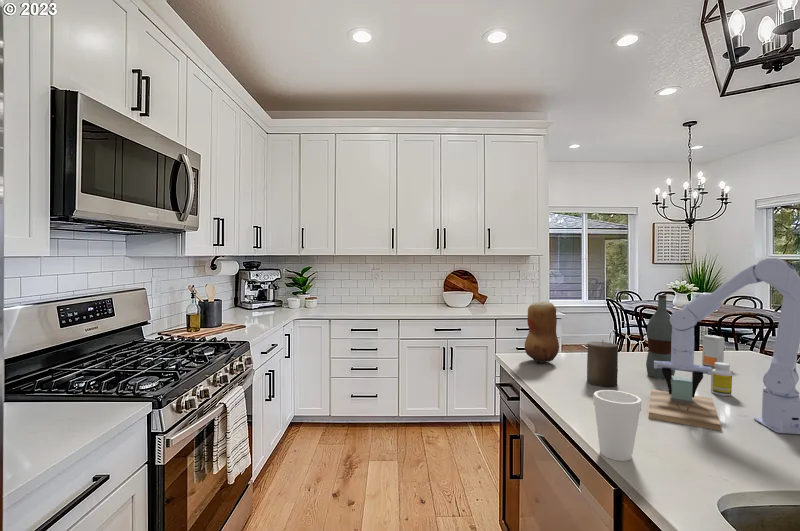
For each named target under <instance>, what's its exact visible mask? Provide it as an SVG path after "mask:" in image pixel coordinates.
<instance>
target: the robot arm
mask: <svg viewBox="0 0 800 531" xmlns="http://www.w3.org/2000/svg"><path fill="white" fill-rule="evenodd" d="M795 268H796V267H794V266H793V265H792V264H790V263H788V262H787V261H786V260H784V259H782V258H777V257H776V258H775V257H768V258H764V259H762V260H760V261H758V262H757V264H753V265H751V266H749V267H747V268H745V269H743V270H742V271H739V272H738V273H737V274H736V275H734V276H733V277H732V278H730V279H729V280H728V281H726V282H725V283H723V284H722V285H721V286H720V287H718V288H717V289H715V290H714V291H713V292H702V293H697V294H695V295H694V299H692V300H691V301H689V302H688V303H686V304H682V305H681V306H680V308H681V309H676V310H674V311H673V312H672V313H671V314H670V323H671V325H672V340H671V362H668V361H654V368H662V373H663V375H664V377H665V379H664V380H665V383H666V385H667V388H668V392H669V394H672V388H671V384H672V379H671V375H672V373H671V370H675V371H679V372H688V373H691V376H692V377H691V379H692V384H693V386H692V397H693V398H694V396H696V391H697V389H698V387H699V385H700V383H701V382H702V380H703V378H704V374H705V375H708V376H711V375H712V370H713V367H712V366H707V365H699V364H695V361H694V360H695V326H697V324H698V322H701V321H702V320H704V319H706V318H708V317H709V316H710V315H712V314H713V313H714V312H716V311H718V310H719V309H721V303H722V301H724V300H725V299H727V298H729V297H730V296H732V295H733V294H735V293H736V292H738V291H740V290H741V289H743V288H744V287H746V286H747V285H752V284H758V283H763V282H764V283H766V284H768V285H770V286H771V287H773V288H774V289H775V290H776V291H777V292H779V294H781V295H782V304H781V309H780V314H779V320H778V325H777V331H776V336H775V343H774V348H773V355H772V357H771V358H772V359H771V361H770V365H769V368H768V371H767V372H765V374H763V375H764V376H763V378H762V382H763V385H764V386H763V387H762V402H761V403H762V405H761V417H756V416H755V417H753V420H755V421H756V422H758V423H759V424H761V425H763V426H765V427H766V428H768V429H770V430H772V431H773V432H775V433H778V434H788V435H789V434H791V435H792V434H793V435H800V391H798V390H797V389H796V385H797V384H798V383H799V378H800V377H799V374H798V372H797V362H798V361H797V360H798V354H799V353H798V352H799V346H800V275H799V273H798V272H797V270H796V269H795Z"/></svg>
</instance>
